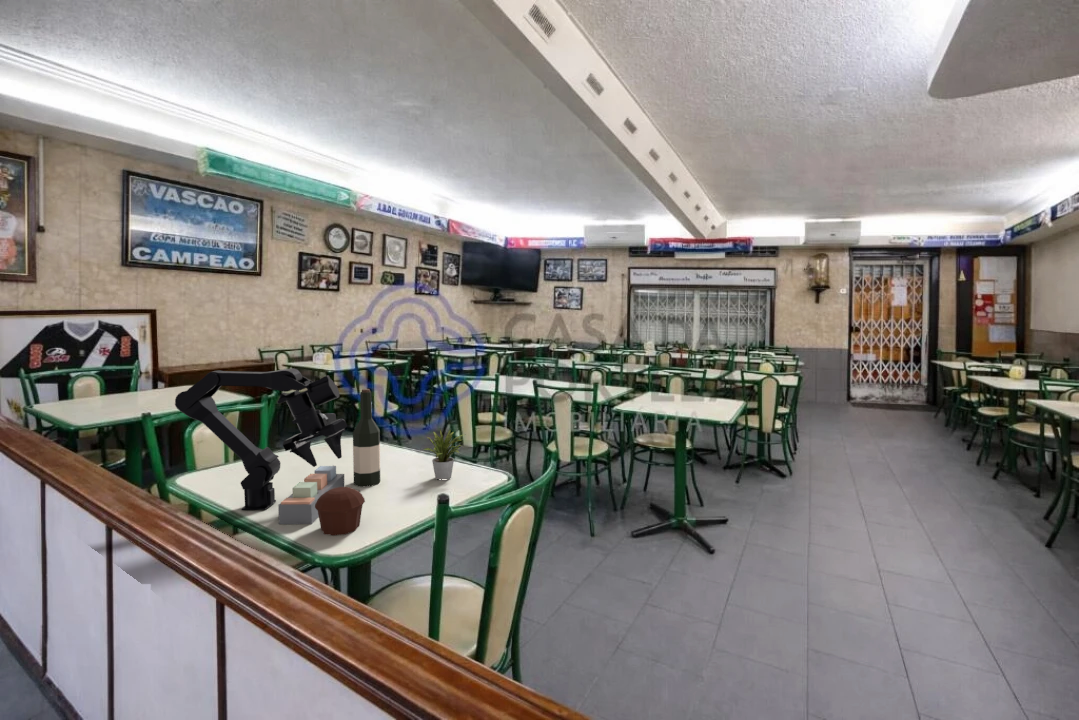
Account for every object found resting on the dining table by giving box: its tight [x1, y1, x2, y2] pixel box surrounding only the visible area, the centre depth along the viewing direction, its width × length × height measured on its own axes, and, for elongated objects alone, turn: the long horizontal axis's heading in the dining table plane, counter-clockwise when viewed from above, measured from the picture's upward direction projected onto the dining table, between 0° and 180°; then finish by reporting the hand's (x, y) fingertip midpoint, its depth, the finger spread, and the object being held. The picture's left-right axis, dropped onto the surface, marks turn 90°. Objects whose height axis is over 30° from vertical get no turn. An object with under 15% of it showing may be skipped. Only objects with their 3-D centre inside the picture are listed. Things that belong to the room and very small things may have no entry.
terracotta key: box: [303, 473, 327, 490], centre depth 145 cm, size 5×5×4 cm
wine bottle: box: [352, 388, 381, 488], centre depth 163 cm, size 8×8×30 cm
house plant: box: [423, 429, 466, 481], centre depth 168 cm, size 14×14×16 cm
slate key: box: [314, 465, 337, 481], centre depth 152 cm, size 5×5×4 cm
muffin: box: [315, 486, 366, 537], centre depth 129 cm, size 12×11×10 cm
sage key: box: [292, 481, 317, 498], centre depth 137 cm, size 5×5×4 cm
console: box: [277, 473, 346, 525], centre depth 144 cm, size 8×26×6 cm, turn 3°
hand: (327, 462), depth 144 cm, fingers open, 9 cm apart
